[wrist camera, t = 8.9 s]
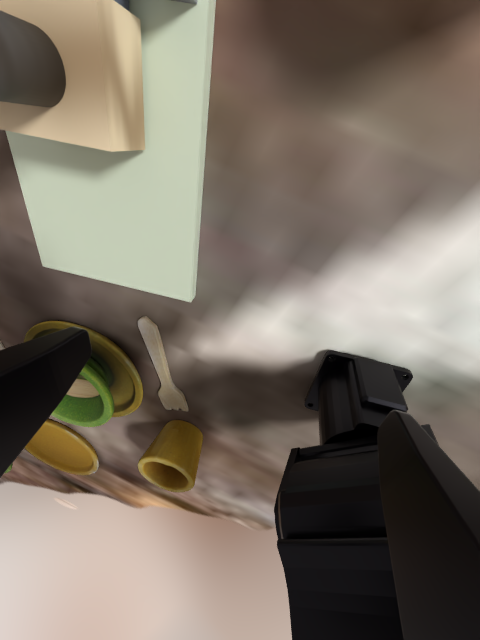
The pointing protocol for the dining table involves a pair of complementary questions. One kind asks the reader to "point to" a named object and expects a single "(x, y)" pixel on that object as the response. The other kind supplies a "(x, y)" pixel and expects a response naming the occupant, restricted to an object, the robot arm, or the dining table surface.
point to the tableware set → (117, 412)
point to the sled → (72, 72)
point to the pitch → (133, 169)
